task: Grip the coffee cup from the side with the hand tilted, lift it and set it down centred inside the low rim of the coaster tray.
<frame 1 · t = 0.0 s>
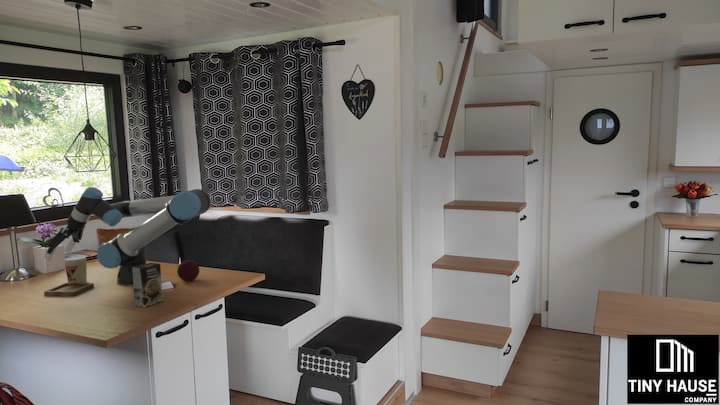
hand: (57, 255, 245), 15 cm above the table, tool tilted 35°, fingers open, 13 cm apart
decorative ball: (189, 281, 254), on the table
coffee box: (149, 304, 219), on the table
coffee cup: (77, 283, 255), on the table
coaster tray: (69, 291, 240), on the table
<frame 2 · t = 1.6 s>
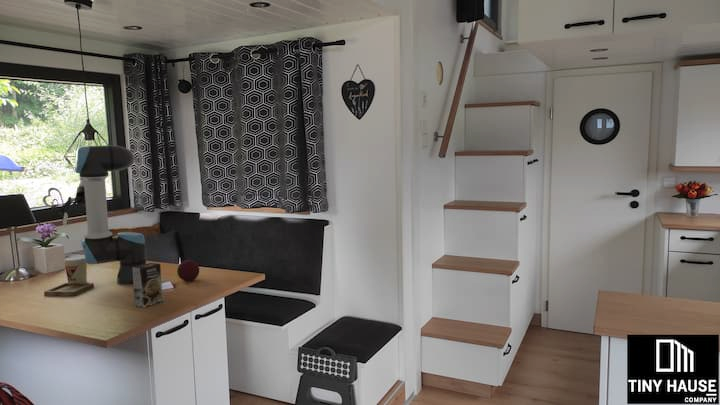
hand: (79, 224, 262), 27 cm above the table, tool tilted 45°, fingers open, 13 cm apart
nothing on the table moved.
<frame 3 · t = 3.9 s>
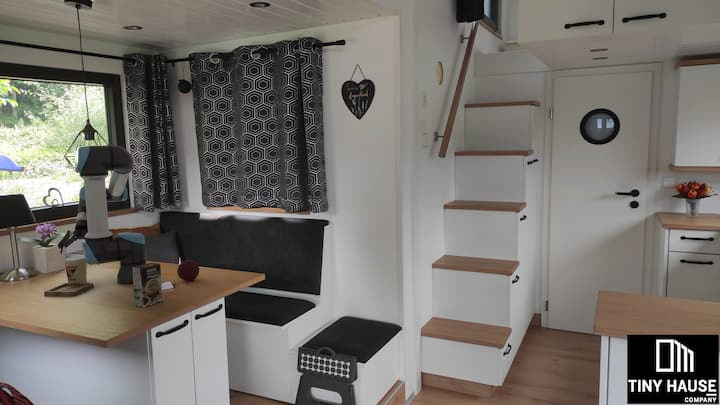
hand: (78, 258, 259), 11 cm above the table, tool tilted 45°, fingers open, 13 cm apart
nothing on the table moved.
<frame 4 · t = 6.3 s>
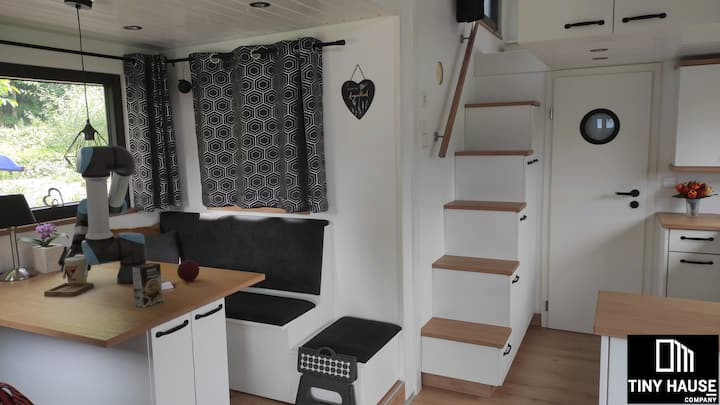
hand: (74, 276, 251), 4 cm above the table, tool tilted 45°, fingers closed on coffee cup, 9 cm apart
coffee cup: (77, 283, 255), on the table, touching gripper
everything else where it was.
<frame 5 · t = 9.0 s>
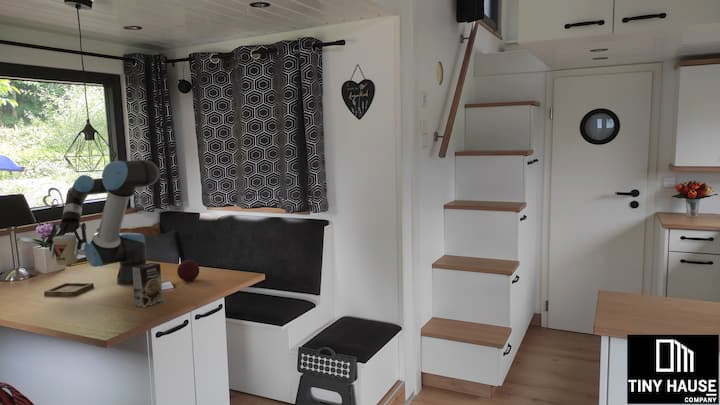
hand: (63, 256, 235), 17 cm above the table, tool tilted 45°, fingers closed on coffee cup, 9 cm apart
coffee cup: (67, 263, 239), point 13 cm above the table, touching gripper
everything else where it was.
when the fingers open (6 cm above the table, at t = 11.6 s): coffee cup drops 1 cm, resting on coaster tray.
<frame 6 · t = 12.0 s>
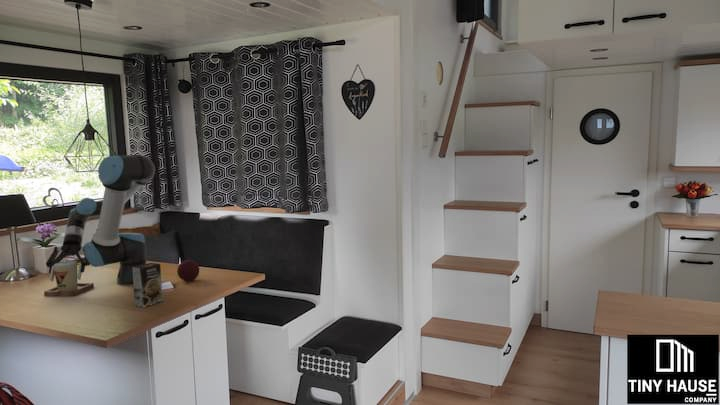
hand: (65, 279, 236), 7 cm above the table, tool tilted 45°, fingers open, 10 cm apart
coffee cup: (67, 289, 240), point 1 cm above the table, touching coaster tray
everything else where it was.
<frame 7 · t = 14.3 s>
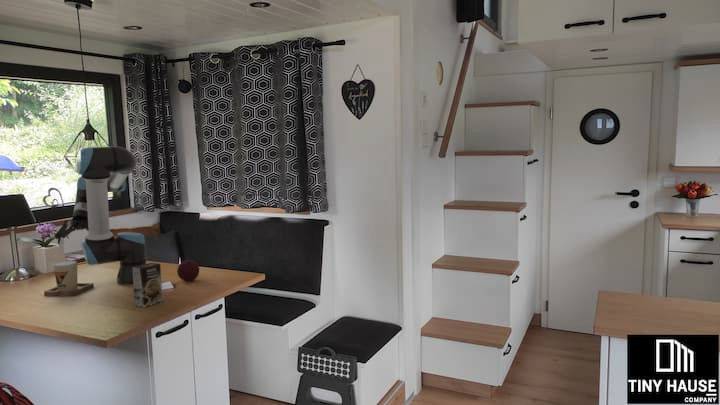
hand: (76, 248, 255), 16 cm above the table, tool tilted 45°, fingers open, 13 cm apart
nothing on the table moved.
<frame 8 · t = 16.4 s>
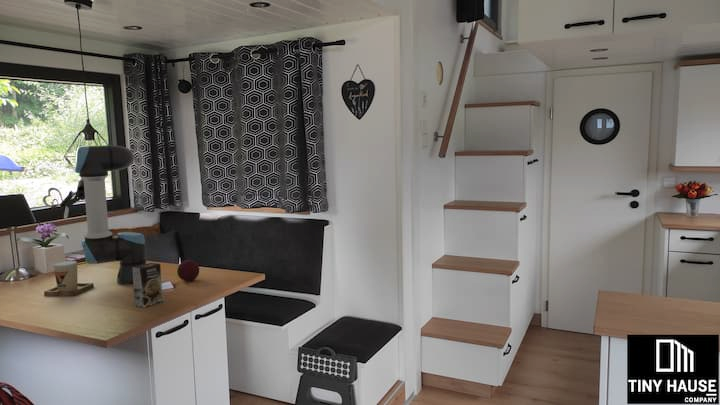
hand: (80, 217, 262), 30 cm above the table, tool tilted 45°, fingers open, 13 cm apart
nothing on the table moved.
at the end: coffee cup inside the target area on the coaster tray (0.8 cm from its centre), point 0.8 cm above the coaster tray's base; coffee cup tilted 0°; the gripper is holding nothing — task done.
